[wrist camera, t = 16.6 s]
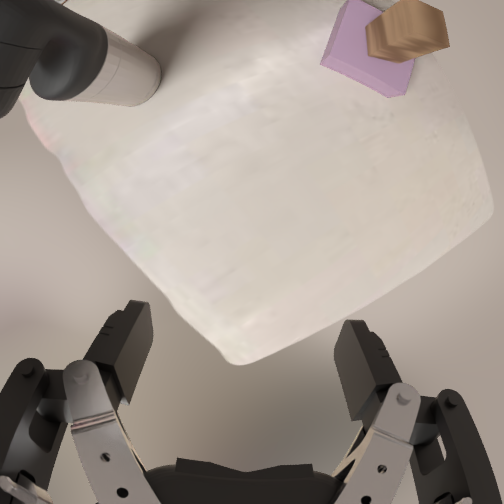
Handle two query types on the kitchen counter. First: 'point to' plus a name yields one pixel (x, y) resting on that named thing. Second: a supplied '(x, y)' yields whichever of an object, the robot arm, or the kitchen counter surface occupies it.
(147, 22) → the kitchen counter surface
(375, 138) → the kitchen counter surface
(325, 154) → the kitchen counter surface
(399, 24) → the walnut block
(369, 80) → the base block
